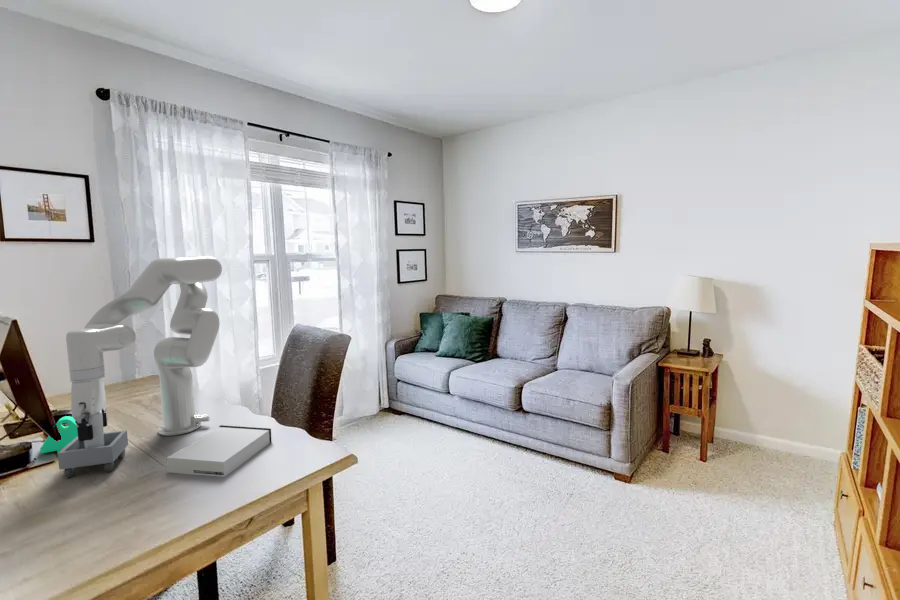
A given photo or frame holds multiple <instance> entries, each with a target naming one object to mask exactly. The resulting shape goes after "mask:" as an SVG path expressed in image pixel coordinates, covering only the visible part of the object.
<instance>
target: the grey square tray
mask: <svg viewBox="0 0 900 600" xmlns="http://www.w3.org/2000/svg"><path fill="white" fill-rule="evenodd" d="M128 446H129V439H128V430H127V429H124V430H116V431H108V432H104V446H101V447H93V448H85V445H84V441H79V440H78V436H77V437H76V438H75V439H74V440H73V441H71V442H70V443H69V444H68V445H67V446H66V447H64V448H63V449H62V450H61V451H60V452H59V453H57V460H58V470H59V471H60V470H64V471H63V476H64V478H65V479H68V478H73V477H74V475H75V471H76V469H75V468H81V467H88V466H95V465H102V464H103V465H104V471H105V473H110V472H113V471H114V467H115V460H117V459H120V458H122V459H123V458H124V457H125V454H126V448H127V447H128Z"/></svg>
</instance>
